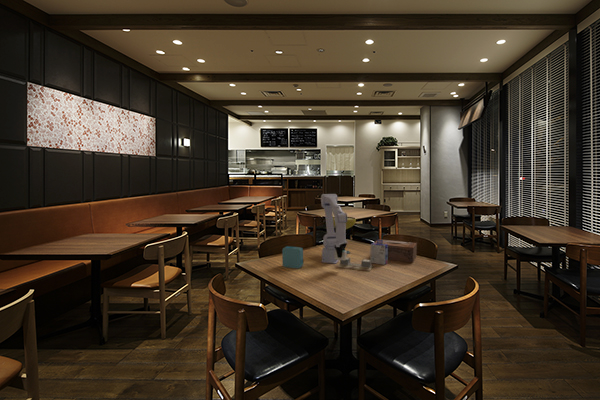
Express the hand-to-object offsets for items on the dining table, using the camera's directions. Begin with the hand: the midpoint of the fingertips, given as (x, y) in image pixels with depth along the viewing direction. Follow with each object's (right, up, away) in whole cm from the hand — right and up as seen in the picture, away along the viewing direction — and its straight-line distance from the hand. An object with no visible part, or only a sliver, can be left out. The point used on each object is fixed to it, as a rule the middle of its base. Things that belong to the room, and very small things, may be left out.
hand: (340, 256), depth 180 cm
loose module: (0, -2, 0) cm, 2 cm away
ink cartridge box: (+26, -7, +15) cm, 31 cm away
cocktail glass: (+7, -5, +41) cm, 42 cm away
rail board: (+10, -8, +6) cm, 14 cm away
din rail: (+10, -8, +6) cm, 14 cm away
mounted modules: (+10, -6, +6) cm, 13 cm away
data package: (-28, -8, +8) cm, 30 cm away
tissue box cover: (+40, -6, +27) cm, 49 cm away
